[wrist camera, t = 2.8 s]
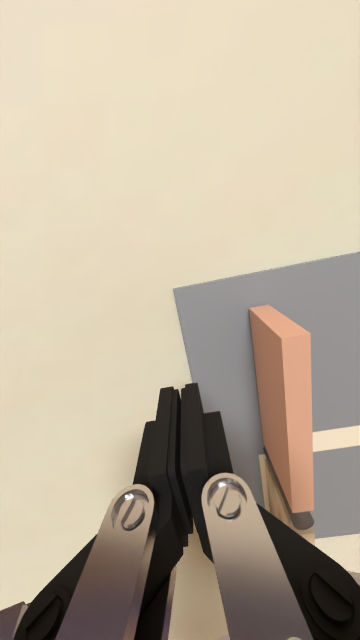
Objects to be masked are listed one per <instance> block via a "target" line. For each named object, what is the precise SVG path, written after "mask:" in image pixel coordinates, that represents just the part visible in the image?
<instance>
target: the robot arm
mask: <svg viewBox="0 0 360 640" xmlns="http://www.w3.org/2000/svg"><path fill="white" fill-rule="evenodd" d="M193 518H194V522H195V526H196V529H197V532H198V534H199V538H200V542H201V545H202V549H203V552H204V553H205V555H206V556H207V557H208V558H209V559H210V560H211V561H212V562H213V564H214V565H215V569H216V574H217V579H218V584H219V588H220V593H221V598H222V603H223V608H224V612H225V617H226V622H227V627H228V631H229V636H230V640H360V573H355V572H350V571H346V570H345V569H344V568H343V567H342V566H341V565H339V564H338V563H337V562H335V561H334V560H333V559H331V558H330V557H329V556H327V555H326V554H325V553H323V552H322V551H321V550H319V549H318V548H317V547H315V546H314V545H313V544H311V543H310V542H309V541H307V540H306V539H305V538H303V537H302V536H301V535H299V534H298V533H297V532H295V531H294V530H293V529H291V528H290V527H288V526H287V525H286V524H284V523H283V522H282V521H280V520H279V519H278V518H276V517H275V516H274V515H272V514H271V513H270V512H268V511H267V510H266V509H264V508H263V507H262V506H260V505H259V504H258V503H256V502H255V500H254V497H253V495H252V493H251V490H250V489H249V487H248V485H247V484H246V482H244V481H243V480H242V479H241V478H240V477H238V476H236V475H234V473H233V468H232V464H231V459H230V455H229V450H228V445H227V441H226V436H225V431H224V427H223V422H222V417H221V413H220V411H216V412H209V413H204V411H203V406H202V401H201V396H200V391H199V387H198V383H191V384H186V385H185V388H182V389H181V399H180V394H179V390H178V389H175V390H174V388H173V387H166V388H161V389H160V395H159V402H158V408H157V415H156V421H149V422H146V424H145V428H144V433H143V437H142V442H141V447H140V452H139V457H138V462H137V467H136V471H135V476H134V481H133V485H130V486H128V487H126V488H124V489H123V490H121V491H120V492H119V493H118V494H117V495H116V496H115V497H114V499H113V500H112V501H111V503H110V505H109V507H108V509H107V512H106V514H105V517H104V519H103V522H102V524H101V527H100V529H99V532H98V534H97V535H96V536H95V537H94V538H93V539H92V540H91V541H90V542H89V543H88V544H87V545H86V546H85V547H84V548H83V549H82V550H81V551H80V552H79V553H78V554H77V555H76V556H75V557H74V558H73V559H72V560H71V561H70V562H69V563H68V564H67V565H66V566H65V567H64V568H63V569H62V570H61V571H60V572H59V573H58V574H57V575H56V576H55V577H54V578H53V579H52V580H51V581H50V582H49V583H48V584H47V585H46V586H45V587H44V588H43V590H42V591H41V592H40V593H39V594H38V595H37V596H36V597H35V599H34V600H33V601H32V602H31V603H28V604H25V602H24V601H23V602H20V603H18V604H15V605H13V606H11V607H8V608H6V609H3V610H1V611H0V640H168V634H169V626H170V618H171V610H172V602H173V594H174V587H175V579H176V564H177V562H178V561H179V560H180V558H181V557H182V555H183V547H186V546H188V534H192V533H193Z"/></svg>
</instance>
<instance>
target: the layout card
mask: <svg viewBox="0 0 360 640" xmlns="http://www.w3.org/2000/svg"><path fill="white" fill-rule="evenodd" d="M173 291H174V296H175V301H176V305H177V310H178V315H179V320H180V324H181V329H182V334H183V339H184V343H185V348H186V353H187V357H188V362H189V367H190V372H191V376H192V381H193V383H198V387H199V391H200V396H201V401H202V406H203V411H204V413H209V412H216V411H220V413H221V417H222V422H223V427H224V431H225V436H226V441H227V445H228V450H229V455H230V459H231V464H232V468H233V473H234V475H236V476H238V477H240V478H241V479H242V480H243V481H244V482H246V484H247V485H248V487H249V489H250V490H251V493H252V495H253V497H254V500H255V502H256V503H258V504H259V505H260V506H262V507H263V508H264V509H266V510H267V511H268V512H270V506H269V497H268V488H267V479H266V470H265V461H264V459H267V458H266V456H265V453H264V451H263V447H264V443H263V434H262V425H261V416H260V406H259V397H258V388H257V378H256V369H255V360H254V351H253V341H252V332H251V323H250V314H249V308H252V307H257V306H263V305H270V306H271V307H273V308H274V309H276V310H277V311H279V312H280V313H282V314H283V315H284V316H286V317H287V318H289V319H290V320H292V321H293V322H295V323H296V324H298V325H299V326H301V327H302V328H303V329H305V330H306V331H308V332H309V333H311V383H312V434H313V484H314V510H313V511H310V513H311V515H312V517H313V520H314V525H313V526H312V529H313V531H314V535H315V539H317V538H325V537H333V536H342V535H350V534H359V533H360V252H356V253H351V254H346V255H341V256H336V257H331V258H326V259H321V260H316V261H311V262H306V263H301V264H296V265H290V266H285V267H280V268H275V269H270V270H265V271H260V272H255V273H250V274H245V275H240V276H235V277H230V278H225V279H220V280H215V281H210V282H205V283H200V284H195V285H190V286H185V287H179V288H174V289H173Z"/></svg>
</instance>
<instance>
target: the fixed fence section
mask: <svg viewBox="0 0 360 640" xmlns="http://www.w3.org/2000/svg"><path fill="white" fill-rule="evenodd" d="M263 451H264V453H265V456H266V458H267V459H264V461H265V470H266V479H267V488H268V497H269V506H270V513H271V514H272V515H274V516H275V517H276V518H278V519H279V520H280V521H282V522H283V523H284V524H286V525H287V526H288V527H290V528H291V529H293V530H294V531H295V532H297V533H298V534H299V535H301V536H302V537H303V538H305V539H306V540H307V541H309V542H310V543H311V544H313V545H314V546H315V535H314V531H313V529H312V526H313V525H314V520H313V517H312V515H311V513H310V511H305V512H298V513H292V511H291V508H290V506H289V503H288V501H287V499H286V496H285V494H284V491H283V489H282V486H281V484H280V482H279V479H278V477H277V474H276V472H275V470H274V467H273V465H272V462H271V460H270V458H269V455H268V453H267V450H266V448H265V446H264V447H263Z"/></svg>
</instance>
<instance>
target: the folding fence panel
mask: <svg viewBox="0 0 360 640" xmlns="http://www.w3.org/2000/svg"><path fill="white" fill-rule="evenodd" d="M249 314H250V323H251V332H252V341H253V351H254V360H255V369H256V378H257V388H258V397H259V406H260V416H261V425H262V434H263V443H264V446H265V448H266V450H267V453H268V455H269V458H270V460H271V462H272V465H273V467H274V470H275V472H276V474H277V477H278V479H279V482H280V484H281V486H282V489H283V491H284V494H285V496H286V499H287V501H288V503H289V506H290V508H291V511H292V513H298V512H305V511H313V510H314V484H313V434H312V383H311V333H309V332H308V331H306V330H305V329H303V328H302V327H301V326H299V325H298V324H296V323H295V322H293V321H292V320H290V319H289V318H287V317H286V316H284V315H283V314H282V313H280V312H279V311H277V310H276V309H274V308H273V307H271V306H270V305H263V306H257V307H252V308H249Z"/></svg>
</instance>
